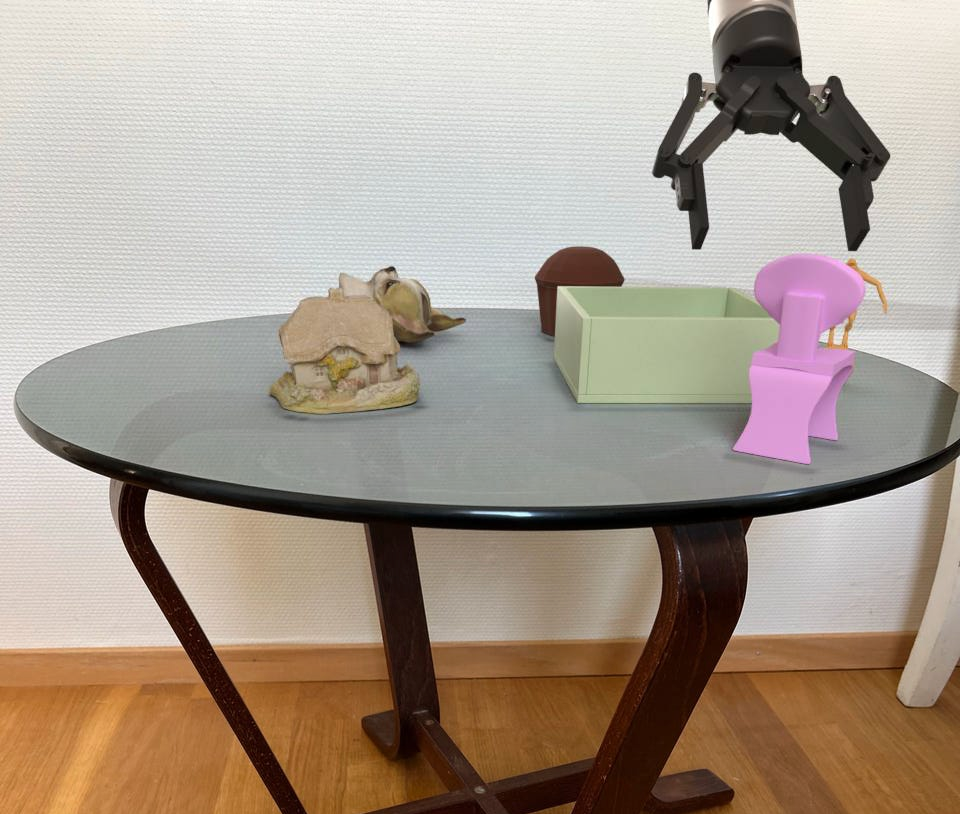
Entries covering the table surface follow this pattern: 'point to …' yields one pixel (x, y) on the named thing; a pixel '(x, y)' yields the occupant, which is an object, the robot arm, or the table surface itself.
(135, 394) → the table surface
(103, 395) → the table surface
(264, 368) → the table surface
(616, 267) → the muffin
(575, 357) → the bin
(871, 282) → the figurine
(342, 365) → the ceramic model
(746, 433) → the toy chair
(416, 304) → the ceramic sculpture
